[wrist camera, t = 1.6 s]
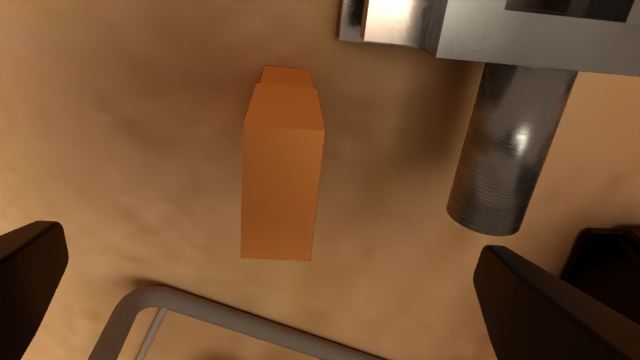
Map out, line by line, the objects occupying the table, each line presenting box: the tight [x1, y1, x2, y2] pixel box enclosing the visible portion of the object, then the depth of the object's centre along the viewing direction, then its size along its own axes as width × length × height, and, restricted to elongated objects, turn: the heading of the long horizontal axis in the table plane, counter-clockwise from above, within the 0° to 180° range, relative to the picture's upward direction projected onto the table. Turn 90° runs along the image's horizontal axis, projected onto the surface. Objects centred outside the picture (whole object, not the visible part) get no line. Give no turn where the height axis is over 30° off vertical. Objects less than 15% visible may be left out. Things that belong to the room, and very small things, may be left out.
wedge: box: [241, 66, 325, 261], centre depth 15 cm, size 4×2×9 cm, turn 174°
